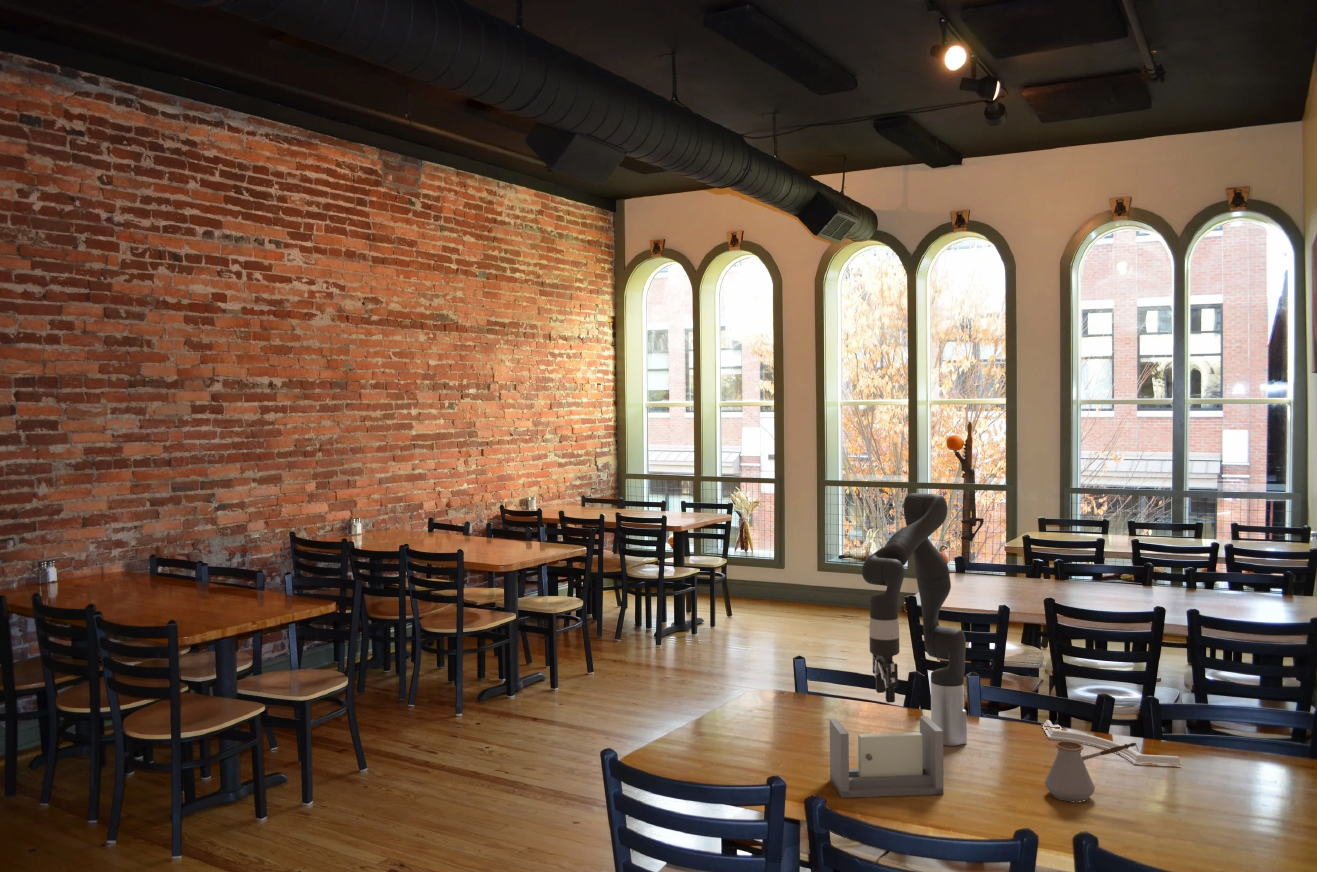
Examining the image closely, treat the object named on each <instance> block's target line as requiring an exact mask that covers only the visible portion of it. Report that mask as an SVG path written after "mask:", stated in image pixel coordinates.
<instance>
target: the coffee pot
mask: <svg viewBox="0 0 1317 872" xmlns="http://www.w3.org/2000/svg"><path fill="white" fill-rule="evenodd" d="M1122 745H1123V746H1116V747H1113V748H1110V749H1107V750H1104V749H1103V750H1101V751H1099V752H1095V753H1091V754H1087V755H1083V756H1082V755H1081V753H1082V751H1083V750H1084V746H1083V745H1082V744H1081V743H1076V742H1069V741H1062V740H1059V741H1058V742H1057V741H1056V742H1055V748H1057V751H1058V752H1057V754H1056V756H1055V759H1054V761H1053V763H1052V765H1051V767H1050V770H1049V771H1048V773H1047V776H1046V777H1045V780H1044V784H1045V787H1046V789H1047V791H1049V793H1051V795H1052V796H1053V795H1054V796H1055V797H1056V798H1055V797H1054V796H1053V797H1054V798H1055V799H1057V798H1058V799H1057V800H1059V799H1061V800H1060V801H1062V800H1065V801H1064V802H1066V801H1074V802H1073V803H1080V802H1079V801H1083V800H1085V799H1086V800H1087V799H1089V798H1090V797H1091V796H1093V795H1094V792H1095V788H1096V787H1095V785H1094V783H1093V780H1092V778H1091V775H1090V773H1089V771H1088V768H1087V767H1086V765H1085V764H1086V763H1085V762H1084V761H1087V760H1090V759H1093V758H1096V757H1100V756H1104V755H1109V754H1115V753H1114V752H1118V751H1121V750H1123V749H1125V748H1126V749H1128V748H1133V747H1136V750H1137V752H1140V751H1139V748H1138V746H1137V743H1136V742H1131V743H1129V744H1128V743H1125V744H1122ZM1086 800H1085V801H1086ZM1083 802H1084V801H1083Z"/></svg>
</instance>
